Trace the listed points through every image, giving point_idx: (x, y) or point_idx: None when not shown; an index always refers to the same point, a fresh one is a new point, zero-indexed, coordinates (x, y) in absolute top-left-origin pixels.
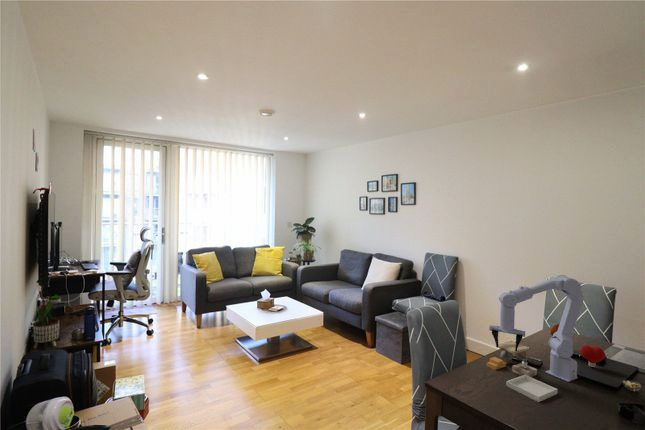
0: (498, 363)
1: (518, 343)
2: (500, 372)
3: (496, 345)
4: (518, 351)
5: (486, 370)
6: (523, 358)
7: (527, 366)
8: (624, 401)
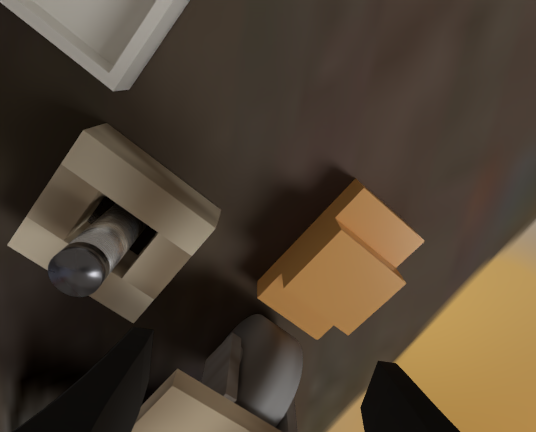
0: (333, 228)
1: (31, 426)
2: (318, 146)
3: (409, 379)
4: None
5: (433, 136)
6: None
7: None
8: None
